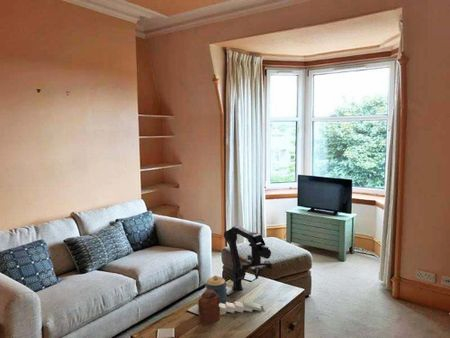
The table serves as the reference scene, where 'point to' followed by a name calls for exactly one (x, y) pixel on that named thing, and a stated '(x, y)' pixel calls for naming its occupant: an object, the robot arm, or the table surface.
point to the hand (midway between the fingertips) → (256, 278)
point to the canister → (217, 287)
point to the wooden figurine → (209, 307)
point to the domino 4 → (251, 305)
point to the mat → (245, 311)
